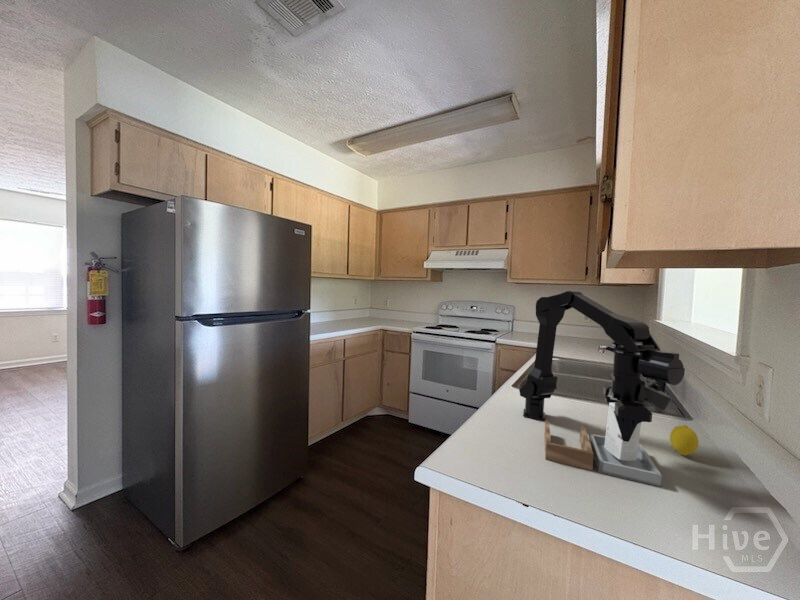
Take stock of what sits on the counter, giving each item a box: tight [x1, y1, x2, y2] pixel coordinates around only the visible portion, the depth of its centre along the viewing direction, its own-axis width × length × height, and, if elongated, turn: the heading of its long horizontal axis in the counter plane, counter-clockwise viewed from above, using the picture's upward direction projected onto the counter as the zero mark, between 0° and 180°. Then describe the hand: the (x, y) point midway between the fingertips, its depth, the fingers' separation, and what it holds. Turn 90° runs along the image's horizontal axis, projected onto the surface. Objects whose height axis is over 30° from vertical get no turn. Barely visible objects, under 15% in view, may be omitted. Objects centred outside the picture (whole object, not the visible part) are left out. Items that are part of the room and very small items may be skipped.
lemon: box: [669, 424, 700, 457], centre depth 82 cm, size 6×6×8 cm
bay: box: [543, 419, 594, 471], centre depth 83 cm, size 16×10×4 cm, turn 156°
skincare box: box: [604, 403, 642, 461], centre depth 78 cm, size 6×4×12 cm
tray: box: [588, 433, 663, 488], centre depth 78 cm, size 16×12×3 cm
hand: (622, 434), depth 78 cm, fingers closed on skincare box, 7 cm apart
